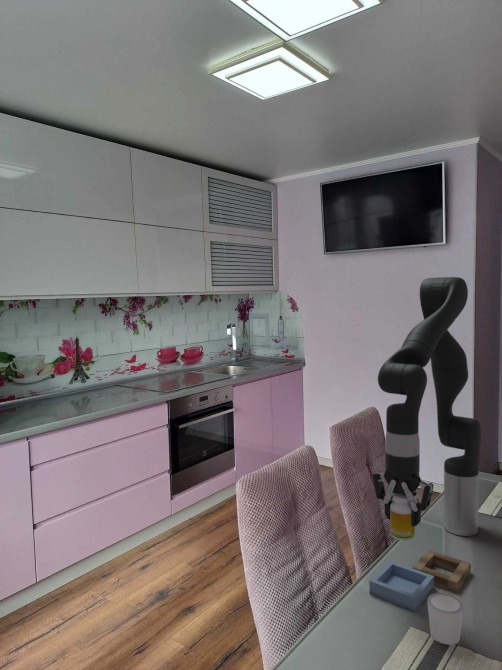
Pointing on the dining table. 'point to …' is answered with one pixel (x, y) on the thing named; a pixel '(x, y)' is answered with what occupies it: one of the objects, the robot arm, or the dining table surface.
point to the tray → (402, 585)
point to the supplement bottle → (401, 518)
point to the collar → (440, 579)
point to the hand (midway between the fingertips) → (402, 521)
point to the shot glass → (445, 618)
